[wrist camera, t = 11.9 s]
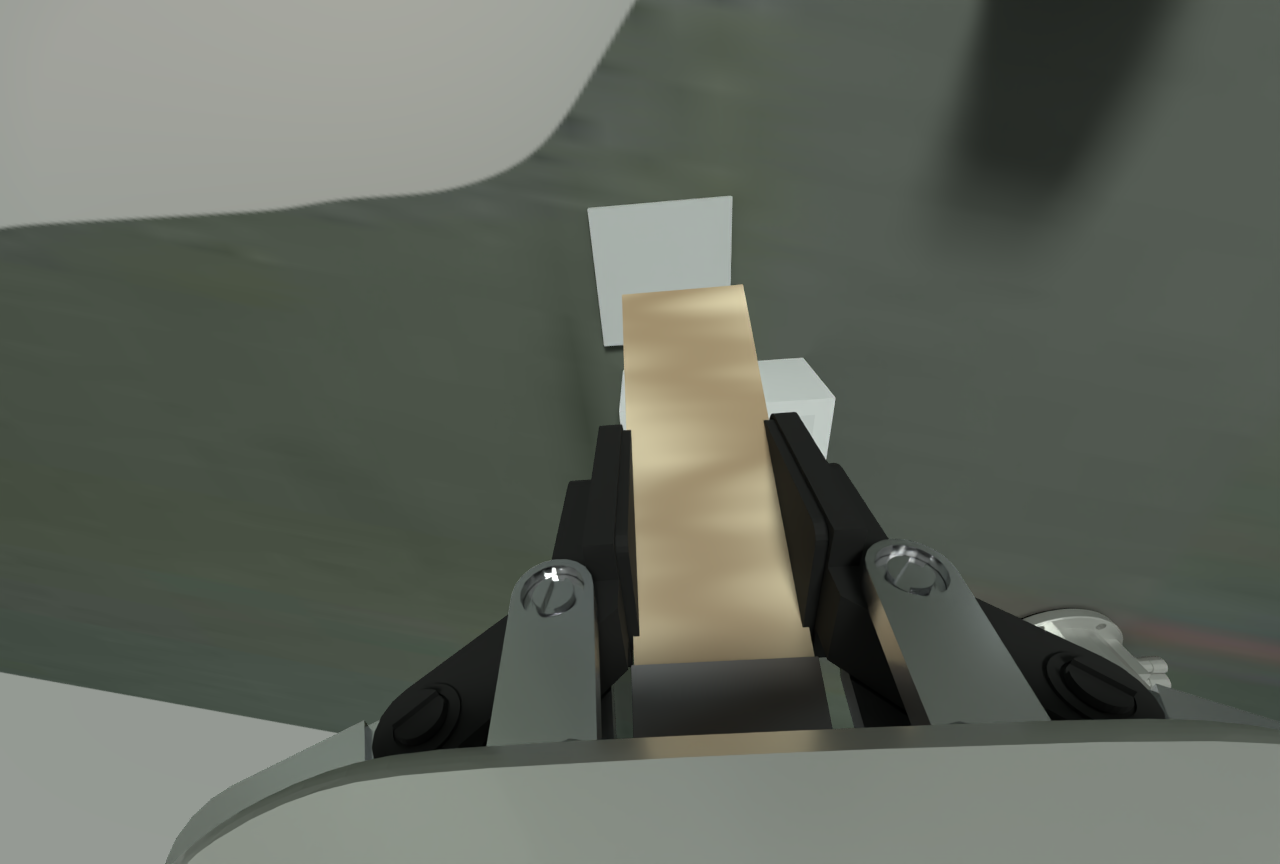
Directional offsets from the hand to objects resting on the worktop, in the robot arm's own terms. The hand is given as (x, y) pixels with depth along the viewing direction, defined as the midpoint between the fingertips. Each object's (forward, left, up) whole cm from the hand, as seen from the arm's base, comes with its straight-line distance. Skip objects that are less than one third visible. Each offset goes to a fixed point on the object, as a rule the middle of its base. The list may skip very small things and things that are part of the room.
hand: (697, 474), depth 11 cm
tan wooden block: (0, -2, -4) cm, 5 cm away
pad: (0, -1, -20) cm, 20 cm away
